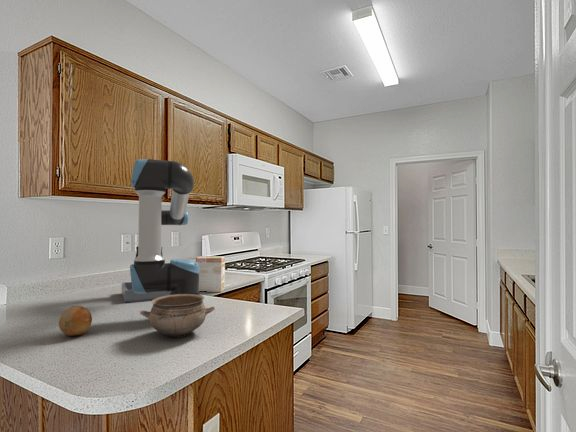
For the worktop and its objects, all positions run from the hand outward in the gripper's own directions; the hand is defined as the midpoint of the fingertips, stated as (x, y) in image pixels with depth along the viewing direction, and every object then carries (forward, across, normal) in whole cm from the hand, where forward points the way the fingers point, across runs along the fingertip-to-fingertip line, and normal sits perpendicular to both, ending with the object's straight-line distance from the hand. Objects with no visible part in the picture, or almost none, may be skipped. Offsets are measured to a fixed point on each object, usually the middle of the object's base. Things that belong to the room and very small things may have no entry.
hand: (148, 278), depth 180 cm
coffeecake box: (+9, -27, -18) cm, 34 cm away
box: (+9, 0, 0) cm, 9 cm away
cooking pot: (+9, -46, +54) cm, 71 cm away
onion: (+9, -12, +62) cm, 63 cm away
